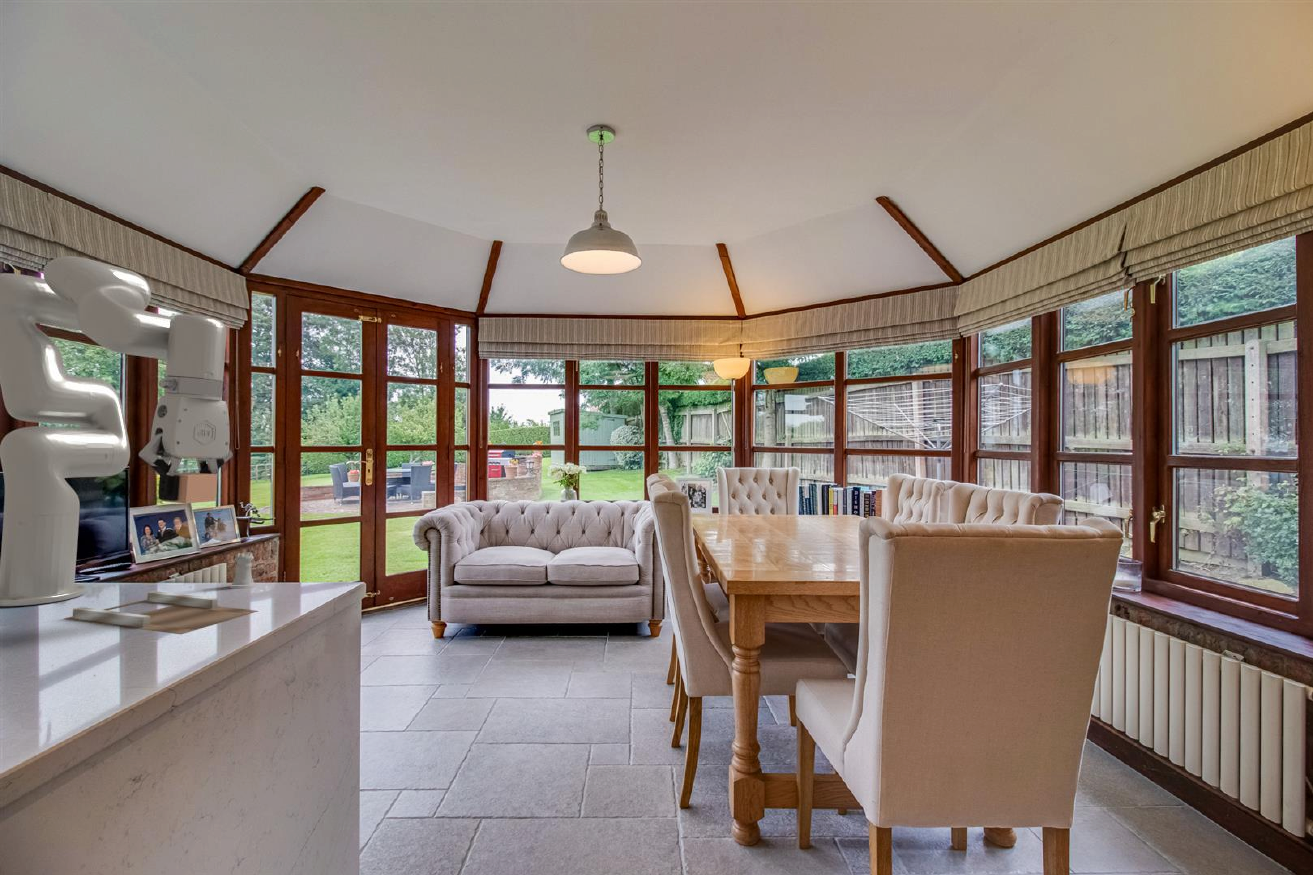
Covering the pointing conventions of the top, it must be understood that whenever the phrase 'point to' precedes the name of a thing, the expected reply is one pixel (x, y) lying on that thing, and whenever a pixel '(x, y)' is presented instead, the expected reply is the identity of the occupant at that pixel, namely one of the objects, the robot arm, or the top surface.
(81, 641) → the top surface
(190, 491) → the block
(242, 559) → the rook chess piece
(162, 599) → the tan rectangular frame
